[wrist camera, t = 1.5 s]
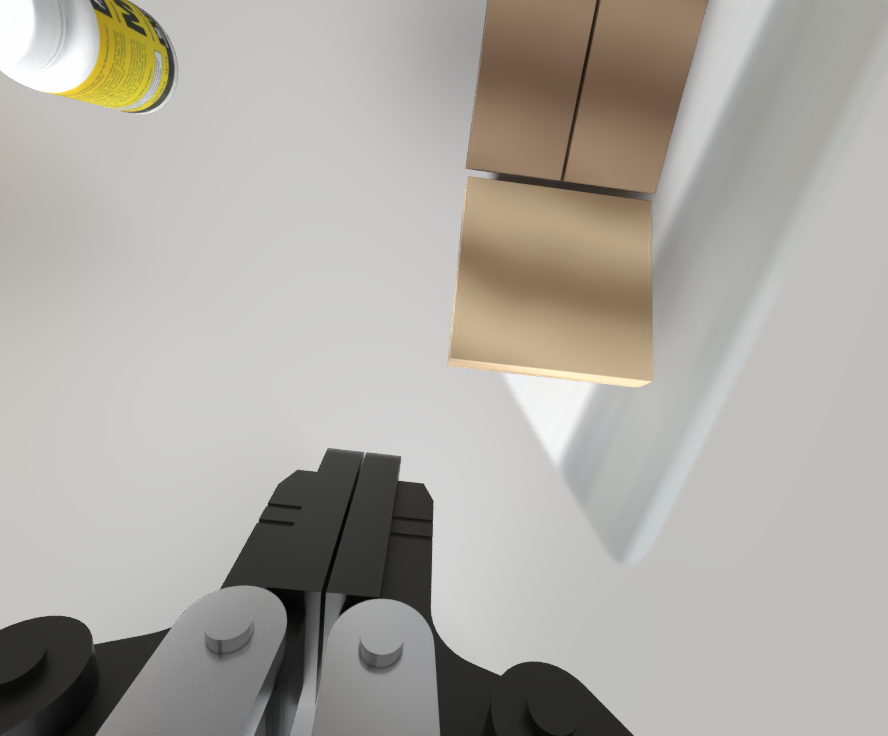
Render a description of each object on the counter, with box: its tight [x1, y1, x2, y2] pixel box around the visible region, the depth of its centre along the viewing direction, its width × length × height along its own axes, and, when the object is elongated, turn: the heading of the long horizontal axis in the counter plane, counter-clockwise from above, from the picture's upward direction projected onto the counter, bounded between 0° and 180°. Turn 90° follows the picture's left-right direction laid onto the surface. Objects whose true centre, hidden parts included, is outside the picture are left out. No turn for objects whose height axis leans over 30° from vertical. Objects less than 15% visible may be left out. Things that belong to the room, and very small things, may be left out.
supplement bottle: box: [0, 0, 178, 114], centre depth 19 cm, size 5×5×8 cm
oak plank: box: [448, 177, 653, 387], centre depth 23 cm, size 10×10×2 cm
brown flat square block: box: [466, 0, 708, 193], centre depth 22 cm, size 10×10×2 cm
